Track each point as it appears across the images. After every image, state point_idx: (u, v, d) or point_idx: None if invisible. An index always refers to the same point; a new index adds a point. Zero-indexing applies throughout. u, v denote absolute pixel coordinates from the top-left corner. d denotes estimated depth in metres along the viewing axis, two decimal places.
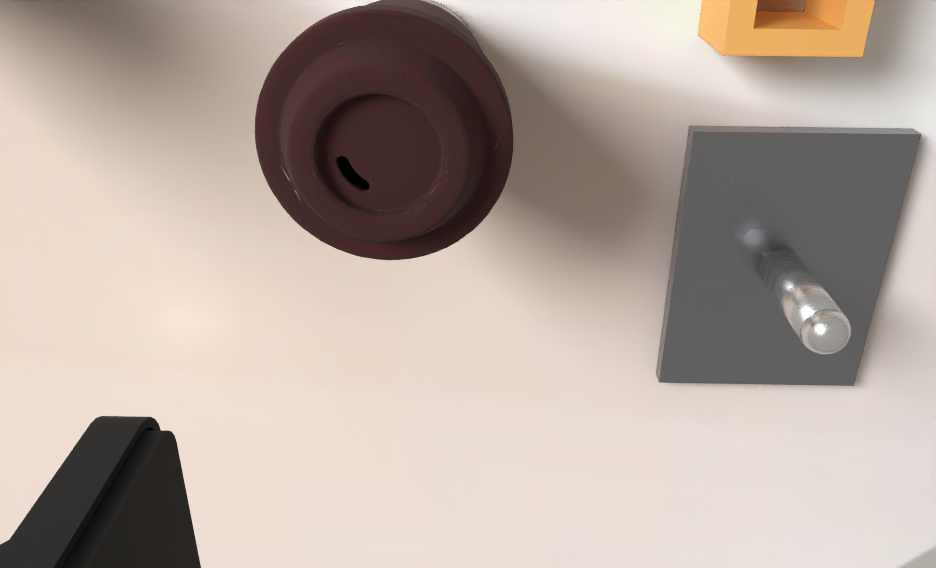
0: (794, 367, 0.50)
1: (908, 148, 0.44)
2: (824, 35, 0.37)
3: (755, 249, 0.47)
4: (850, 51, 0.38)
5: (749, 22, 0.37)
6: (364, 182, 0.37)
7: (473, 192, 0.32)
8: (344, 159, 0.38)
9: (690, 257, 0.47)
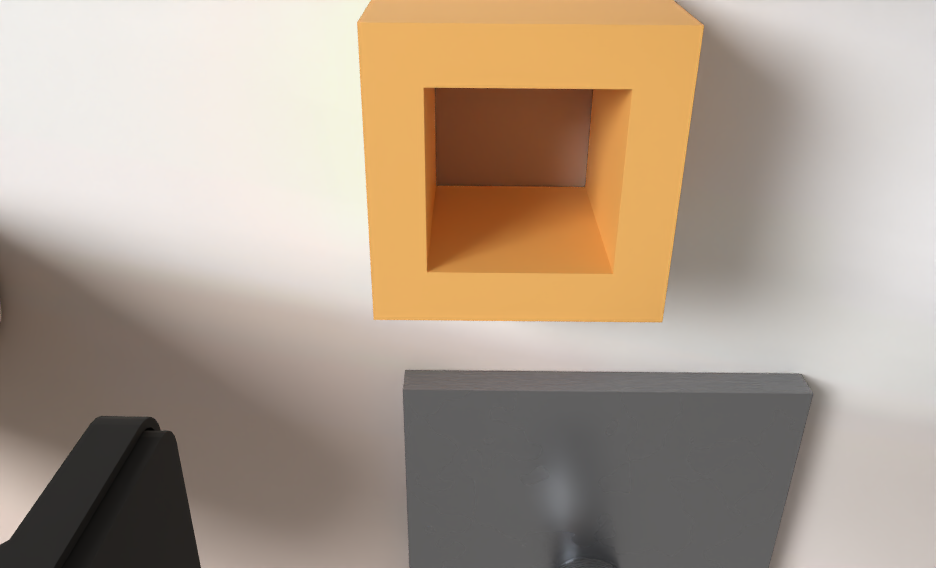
0: None
1: (792, 415, 0.24)
2: (578, 284, 0.18)
3: (542, 559, 0.27)
4: (636, 312, 0.18)
5: (416, 261, 0.17)
6: None
7: None
8: None
9: None
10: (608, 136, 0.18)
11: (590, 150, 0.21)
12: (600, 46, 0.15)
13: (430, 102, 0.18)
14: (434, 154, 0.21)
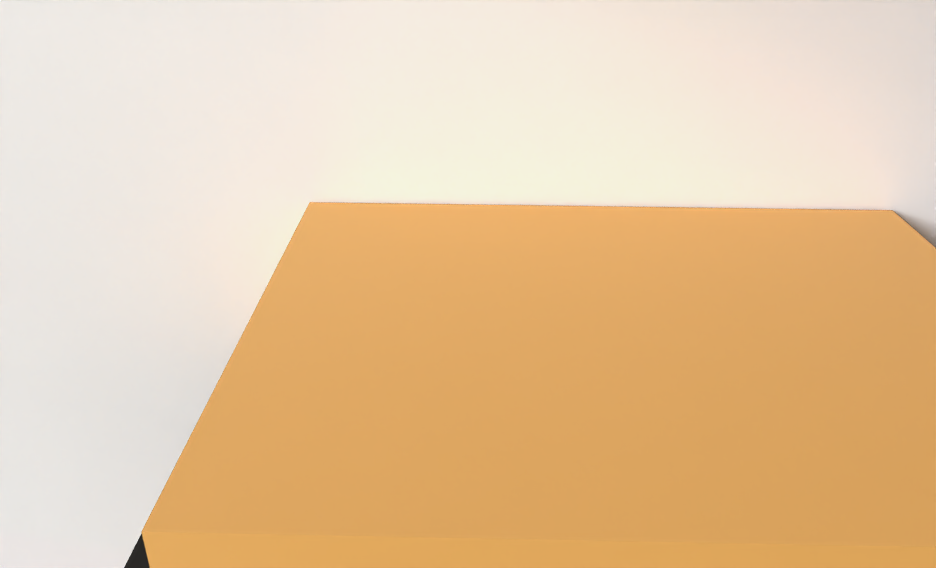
0: None
1: None
2: None
3: None
4: None
5: None
6: None
7: None
8: None
9: None
10: None
11: None
12: None
13: None
14: None
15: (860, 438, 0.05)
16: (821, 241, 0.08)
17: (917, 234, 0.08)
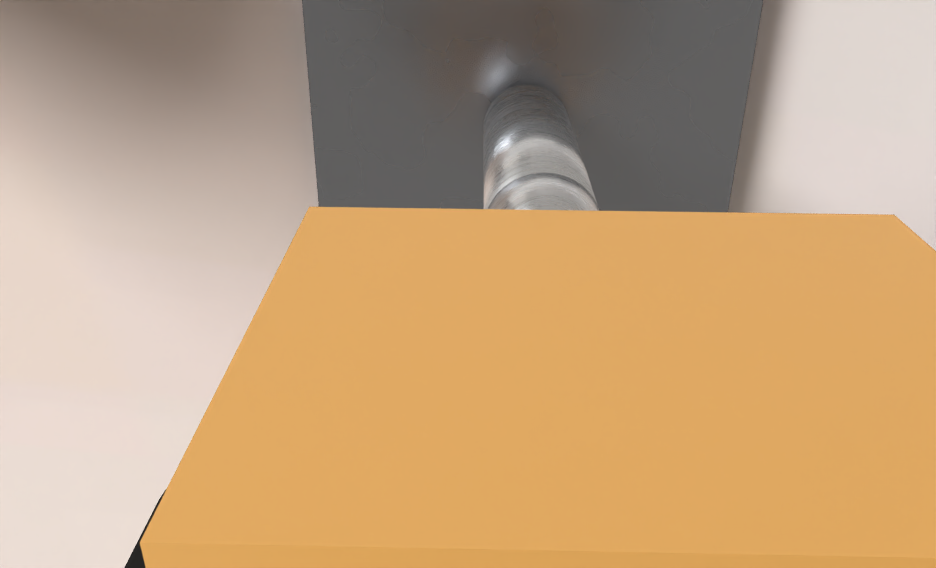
0: None
1: None
2: None
3: (470, 85, 0.22)
4: None
5: None
6: None
7: None
8: None
9: (340, 104, 0.23)
10: None
11: None
12: None
13: None
14: None
15: (863, 446, 0.05)
16: (823, 245, 0.08)
17: (919, 239, 0.08)
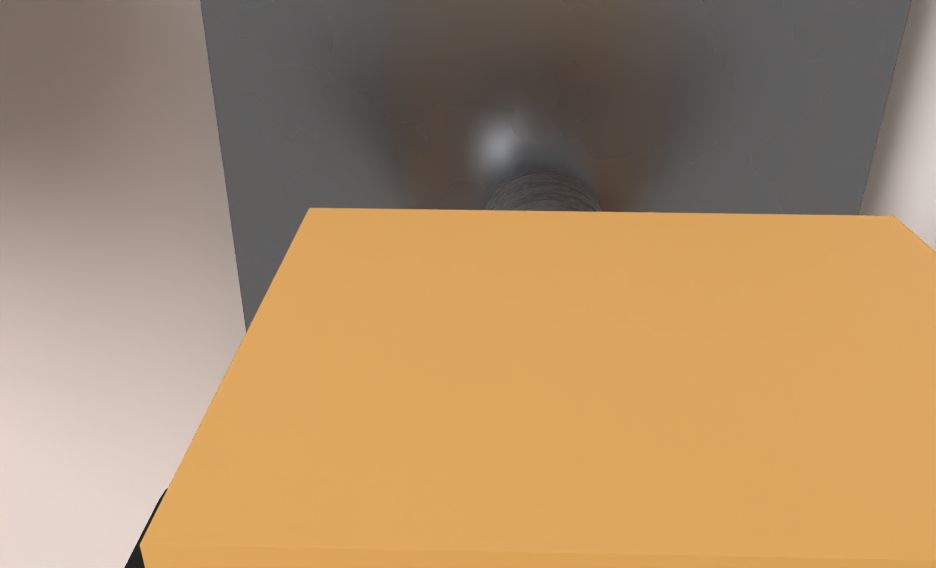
0: None
1: None
2: None
3: (460, 171, 0.15)
4: None
5: None
6: None
7: None
8: None
9: (270, 197, 0.16)
10: None
11: None
12: None
13: None
14: None
15: (863, 448, 0.05)
16: (822, 247, 0.08)
17: (919, 240, 0.08)
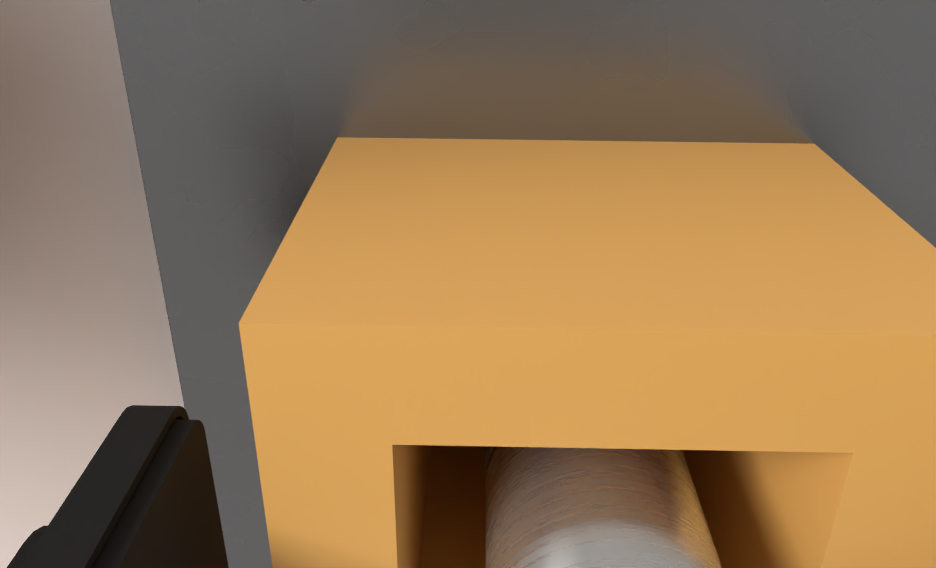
0: None
1: None
2: None
3: None
4: None
5: None
6: None
7: None
8: None
9: (220, 308, 0.12)
10: None
11: None
12: (792, 373, 0.07)
13: None
14: None
15: (754, 277, 0.07)
16: (751, 163, 0.10)
17: (830, 159, 0.10)
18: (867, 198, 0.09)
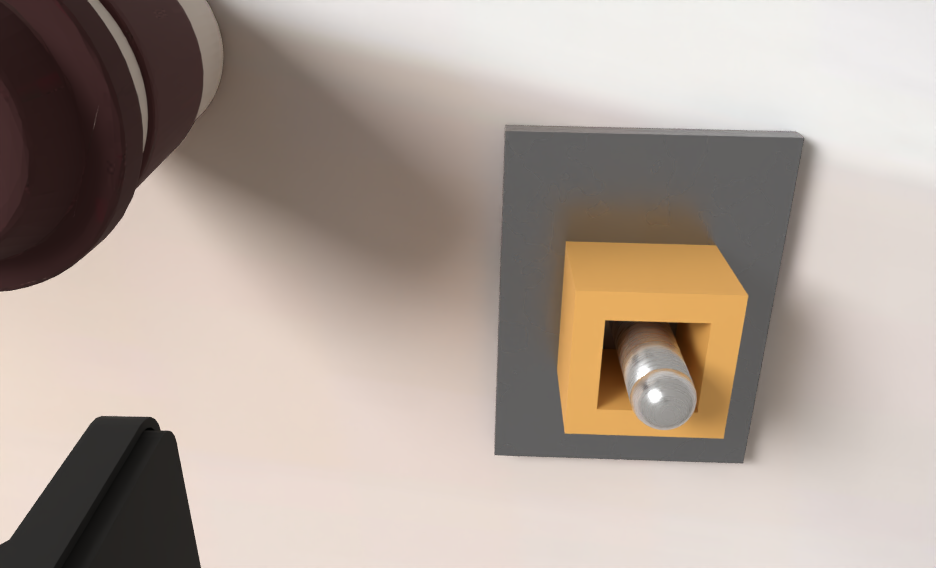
0: (664, 439, 0.39)
1: (789, 156, 0.33)
2: None
3: None
4: (709, 433, 0.33)
5: (591, 403, 0.33)
6: None
7: (73, 194, 0.22)
8: None
9: (518, 296, 0.36)
10: (693, 334, 0.34)
11: (678, 332, 0.36)
12: (696, 303, 0.31)
13: None
14: None
15: (689, 283, 0.31)
16: (695, 252, 0.34)
17: (719, 251, 0.34)
18: (725, 263, 0.33)
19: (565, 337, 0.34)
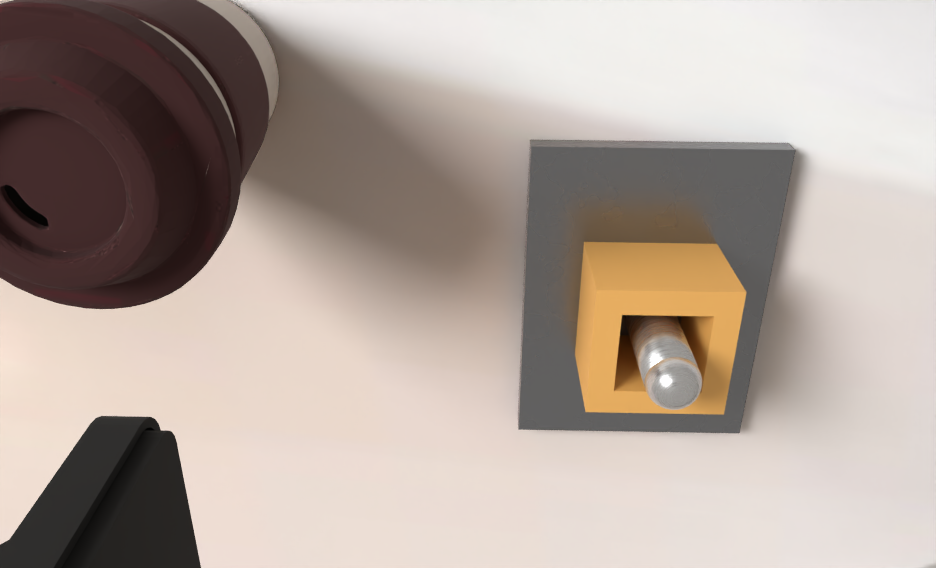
0: None
1: (782, 166, 0.38)
2: None
3: None
4: (711, 410, 0.38)
5: (609, 386, 0.37)
6: None
7: (187, 228, 0.26)
8: None
9: (541, 290, 0.41)
10: (697, 324, 0.38)
11: (683, 320, 0.41)
12: (701, 300, 0.35)
13: None
14: None
15: (695, 281, 0.36)
16: (698, 250, 0.39)
17: (719, 249, 0.39)
18: (725, 262, 0.38)
19: (585, 327, 0.39)
